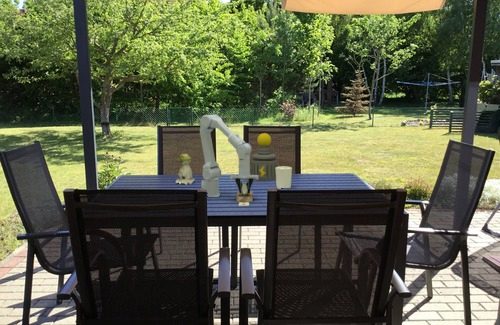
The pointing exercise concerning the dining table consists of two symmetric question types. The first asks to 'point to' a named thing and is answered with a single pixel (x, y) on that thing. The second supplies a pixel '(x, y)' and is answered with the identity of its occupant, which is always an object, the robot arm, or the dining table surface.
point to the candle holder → (283, 177)
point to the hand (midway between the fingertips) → (244, 192)
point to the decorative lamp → (264, 160)
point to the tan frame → (245, 199)
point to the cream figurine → (185, 170)
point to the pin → (244, 189)
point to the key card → (243, 203)
